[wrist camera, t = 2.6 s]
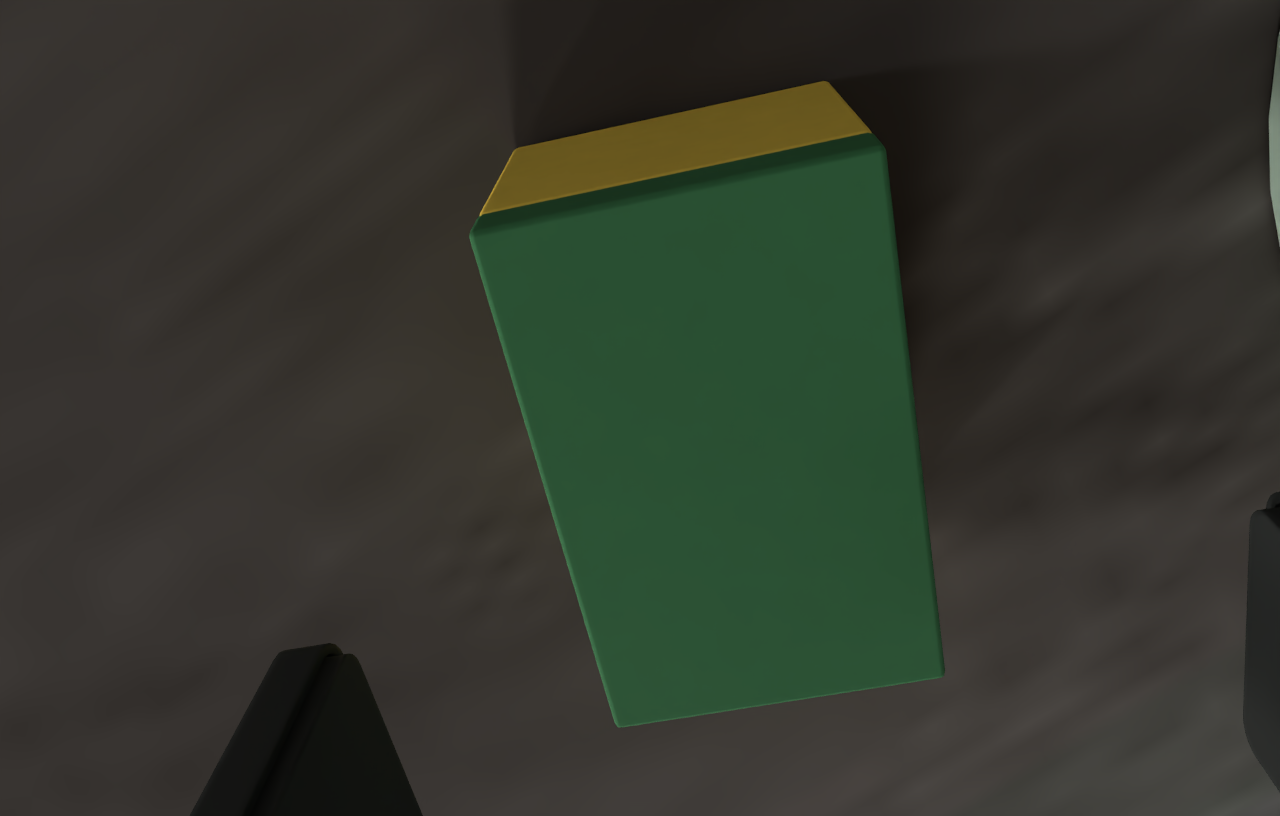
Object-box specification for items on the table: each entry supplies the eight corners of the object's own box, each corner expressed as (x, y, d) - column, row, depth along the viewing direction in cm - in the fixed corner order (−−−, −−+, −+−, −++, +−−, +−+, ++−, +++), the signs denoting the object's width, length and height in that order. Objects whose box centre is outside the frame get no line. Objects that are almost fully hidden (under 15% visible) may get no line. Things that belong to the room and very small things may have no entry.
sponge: (513, 147, 17) (466, 233, 12) (829, 78, 16) (886, 144, 12) (623, 560, 20) (616, 731, 16) (886, 514, 19) (946, 679, 15)
